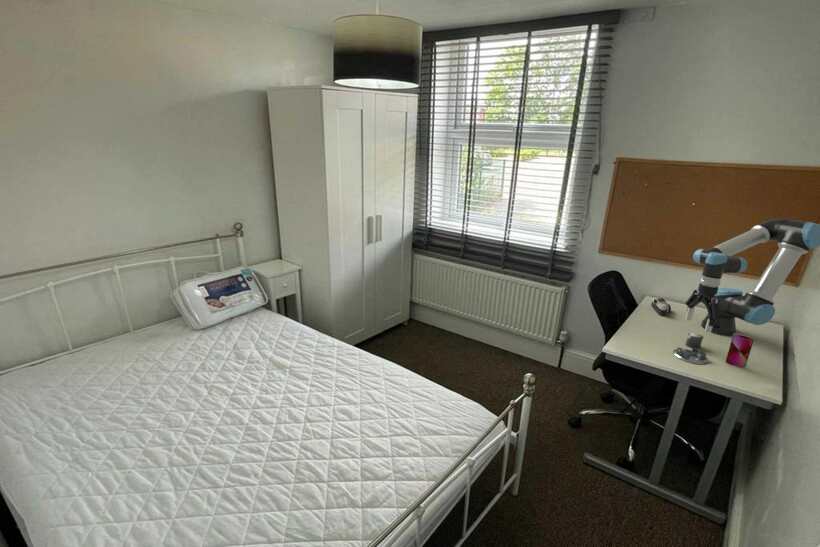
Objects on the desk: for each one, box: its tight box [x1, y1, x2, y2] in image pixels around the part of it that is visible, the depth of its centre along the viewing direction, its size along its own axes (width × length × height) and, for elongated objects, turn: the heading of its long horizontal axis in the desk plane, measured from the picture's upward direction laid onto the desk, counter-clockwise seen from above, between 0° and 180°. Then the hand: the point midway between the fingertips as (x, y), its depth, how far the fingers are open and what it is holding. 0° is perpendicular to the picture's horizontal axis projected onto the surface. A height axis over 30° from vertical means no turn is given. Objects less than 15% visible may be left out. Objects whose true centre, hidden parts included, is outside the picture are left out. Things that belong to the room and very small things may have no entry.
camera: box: [650, 297, 672, 317], centre depth 237 cm, size 16×9×10 cm, turn 168°
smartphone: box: [725, 332, 755, 369], centre depth 180 cm, size 7×1×15 cm, turn 50°
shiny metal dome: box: [672, 346, 709, 365], centre depth 188 cm, size 14×14×3 cm
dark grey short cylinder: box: [685, 332, 705, 350], centre depth 198 cm, size 7×6×6 cm
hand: (697, 325), depth 196 cm, fingers open, 13 cm apart
